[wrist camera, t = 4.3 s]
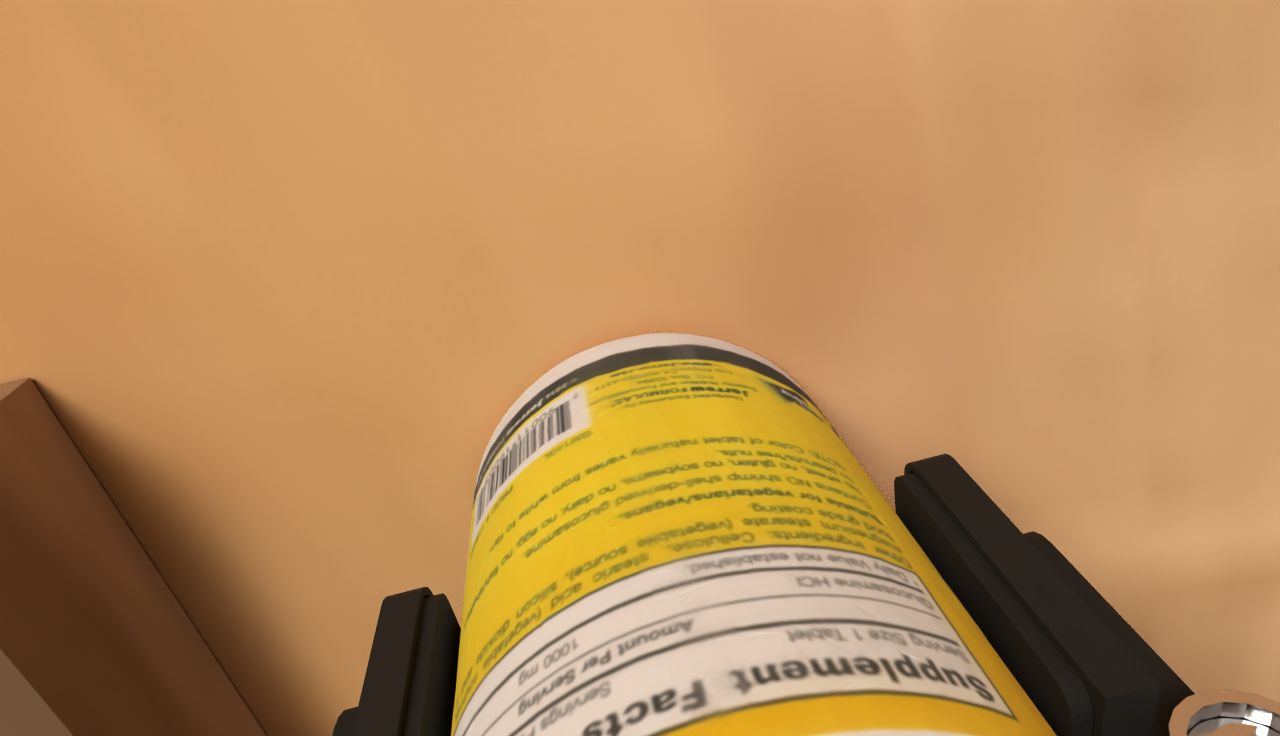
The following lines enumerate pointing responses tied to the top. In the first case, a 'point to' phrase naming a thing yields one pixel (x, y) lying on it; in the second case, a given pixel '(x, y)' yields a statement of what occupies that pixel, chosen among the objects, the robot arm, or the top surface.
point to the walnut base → (89, 604)
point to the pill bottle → (704, 568)
